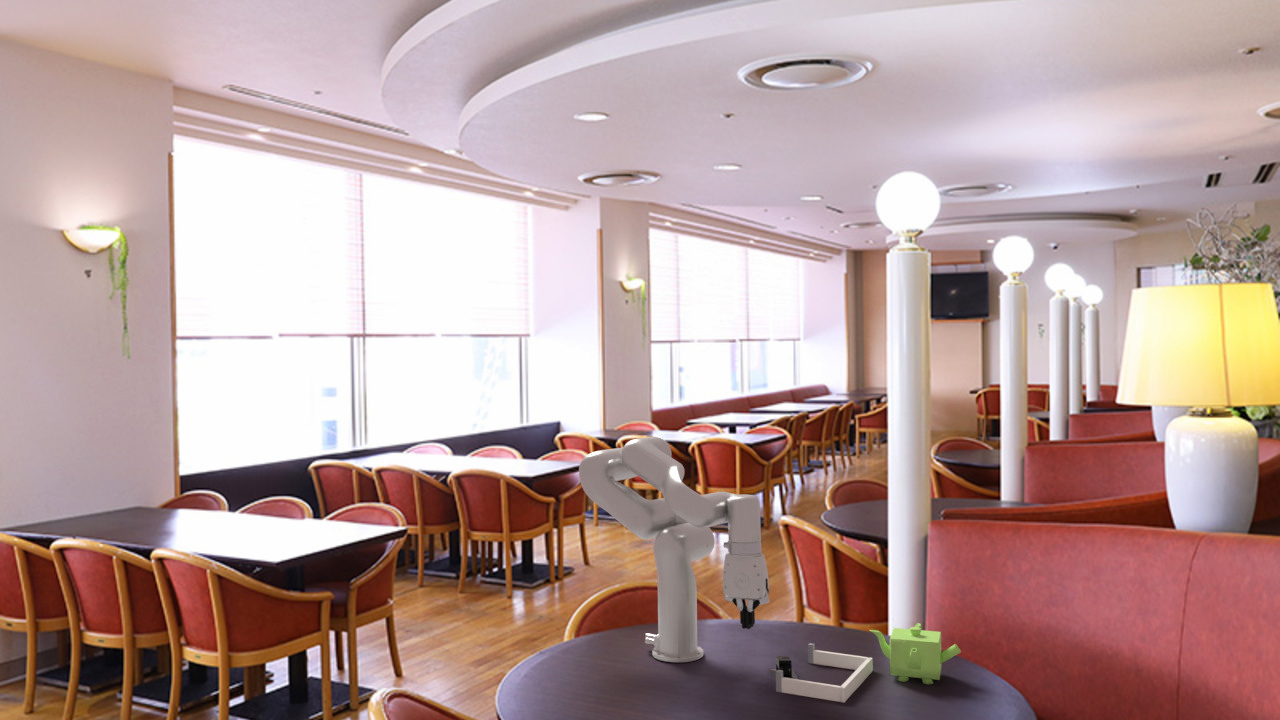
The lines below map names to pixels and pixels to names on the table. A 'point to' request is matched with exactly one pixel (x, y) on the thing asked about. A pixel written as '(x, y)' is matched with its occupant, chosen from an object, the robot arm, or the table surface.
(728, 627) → the table surface
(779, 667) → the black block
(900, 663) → the kettle
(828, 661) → the bay
